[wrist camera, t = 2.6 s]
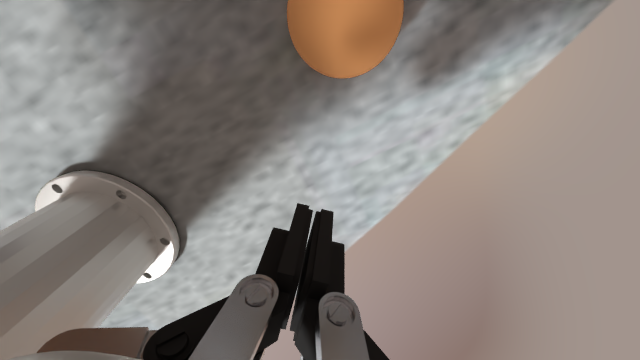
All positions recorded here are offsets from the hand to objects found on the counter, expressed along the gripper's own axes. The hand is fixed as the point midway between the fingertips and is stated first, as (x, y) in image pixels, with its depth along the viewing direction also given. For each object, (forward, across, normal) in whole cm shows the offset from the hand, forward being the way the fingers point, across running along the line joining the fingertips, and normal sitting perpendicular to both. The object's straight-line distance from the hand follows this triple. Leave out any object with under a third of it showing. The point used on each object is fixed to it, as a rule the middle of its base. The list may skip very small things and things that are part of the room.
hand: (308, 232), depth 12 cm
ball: (+7, +1, -9) cm, 11 cm away
